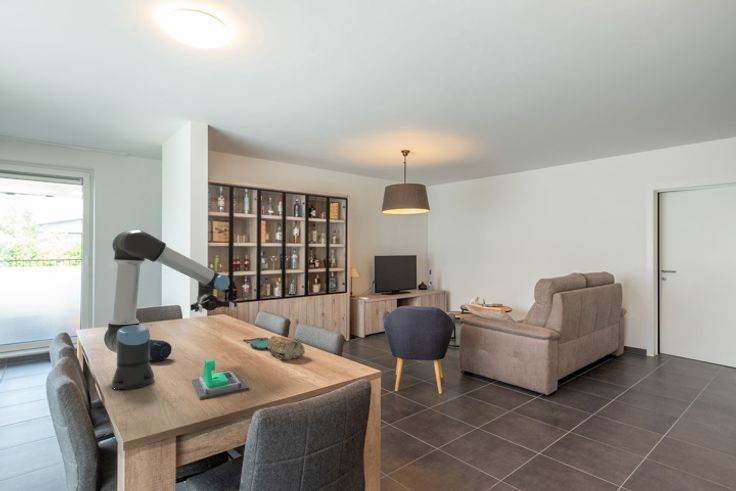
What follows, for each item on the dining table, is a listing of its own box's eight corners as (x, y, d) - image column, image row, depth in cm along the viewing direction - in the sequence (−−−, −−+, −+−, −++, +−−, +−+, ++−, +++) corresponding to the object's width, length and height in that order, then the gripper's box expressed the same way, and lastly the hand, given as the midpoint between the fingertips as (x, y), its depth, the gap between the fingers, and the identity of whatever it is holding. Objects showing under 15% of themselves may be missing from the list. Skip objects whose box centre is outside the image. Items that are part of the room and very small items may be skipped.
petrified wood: (263, 354, 200) (267, 335, 202) (284, 354, 208) (287, 336, 210) (282, 361, 186) (286, 340, 187) (304, 361, 194) (307, 341, 196)
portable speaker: (118, 359, 191) (118, 340, 191) (135, 354, 201) (135, 335, 201) (158, 364, 184) (158, 343, 184) (174, 358, 194) (174, 339, 194)
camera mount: (228, 387, 151) (228, 361, 151) (208, 391, 147) (208, 364, 147) (222, 378, 161) (222, 354, 161) (202, 381, 157) (202, 357, 157)
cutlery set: (258, 352, 204) (258, 348, 204) (239, 342, 228) (239, 338, 228) (291, 347, 217) (291, 343, 217) (270, 338, 240) (270, 334, 240)
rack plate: (199, 399, 141) (199, 393, 141) (191, 381, 160) (191, 376, 160) (248, 389, 151) (248, 383, 151) (235, 374, 169) (235, 368, 169)
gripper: (235, 307, 193) (245, 313, 175) (181, 312, 180) (187, 319, 162) (235, 293, 193) (245, 297, 176) (181, 296, 180) (187, 301, 162)
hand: (217, 308), depth 169 cm, fingers open, 13 cm apart
